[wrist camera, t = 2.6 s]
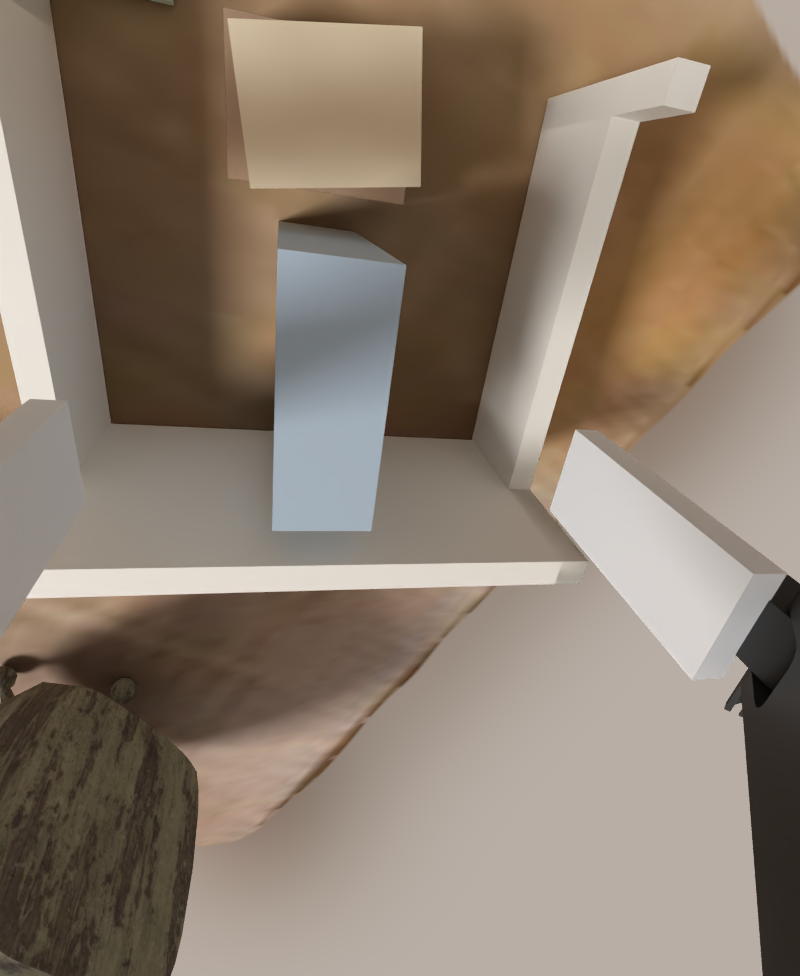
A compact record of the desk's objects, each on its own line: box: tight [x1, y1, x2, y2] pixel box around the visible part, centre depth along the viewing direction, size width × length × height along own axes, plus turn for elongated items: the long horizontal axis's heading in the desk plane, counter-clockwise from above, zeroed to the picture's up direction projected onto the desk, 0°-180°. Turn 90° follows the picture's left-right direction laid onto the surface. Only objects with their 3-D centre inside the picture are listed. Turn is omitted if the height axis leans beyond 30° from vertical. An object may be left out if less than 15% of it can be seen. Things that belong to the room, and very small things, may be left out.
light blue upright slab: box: [272, 221, 406, 531], centre depth 21 cm, size 9×4×12 cm, turn 172°
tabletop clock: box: [0, 666, 198, 976], centre depth 25 cm, size 14×9×25 cm, turn 24°
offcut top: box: [227, 18, 423, 189], centre depth 18 cm, size 4×6×3 cm
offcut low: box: [223, 7, 406, 205], centre depth 21 cm, size 5×7×4 cm
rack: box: [0, 0, 711, 598], centre depth 20 cm, size 18×22×12 cm
